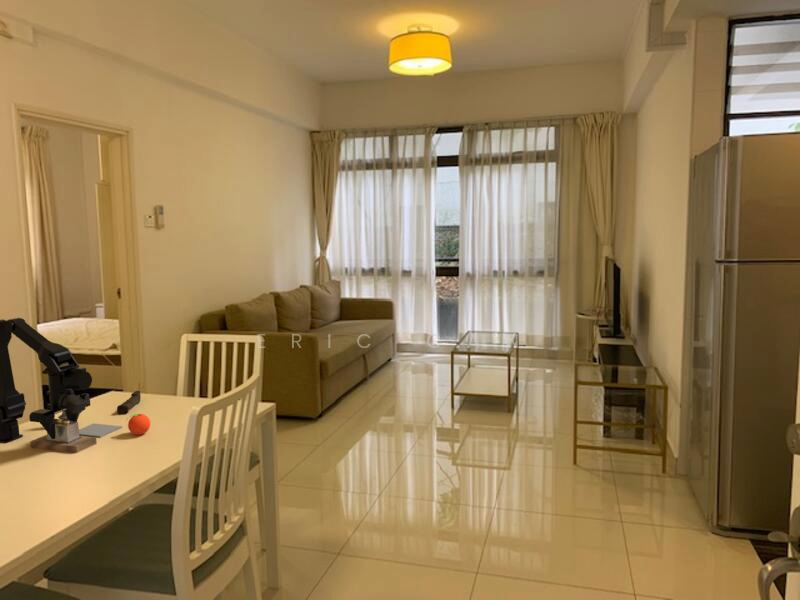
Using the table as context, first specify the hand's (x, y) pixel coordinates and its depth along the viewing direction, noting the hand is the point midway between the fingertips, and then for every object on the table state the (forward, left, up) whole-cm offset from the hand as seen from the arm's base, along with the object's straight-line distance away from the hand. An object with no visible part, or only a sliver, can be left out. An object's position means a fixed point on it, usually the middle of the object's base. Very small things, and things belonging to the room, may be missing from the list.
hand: (63, 434), depth 189 cm
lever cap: (0, 0, -1) cm, 1 cm away
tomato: (+16, +15, -4) cm, 22 cm away
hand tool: (-8, +40, -4) cm, 41 cm away
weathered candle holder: (-14, +16, -4) cm, 22 cm away
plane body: (0, 0, -4) cm, 4 cm away
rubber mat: (0, +14, -4) cm, 14 cm away
